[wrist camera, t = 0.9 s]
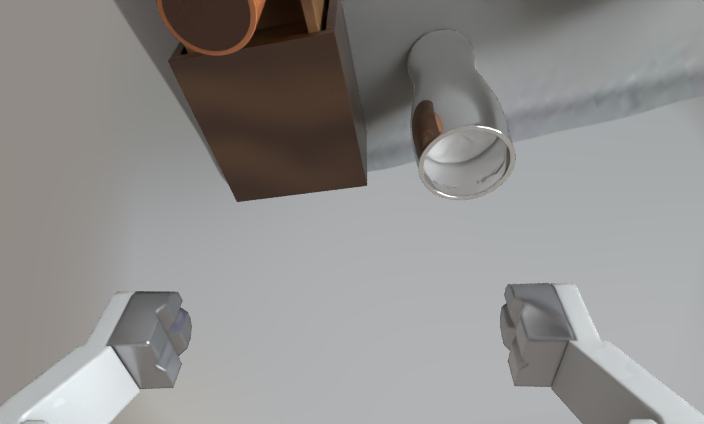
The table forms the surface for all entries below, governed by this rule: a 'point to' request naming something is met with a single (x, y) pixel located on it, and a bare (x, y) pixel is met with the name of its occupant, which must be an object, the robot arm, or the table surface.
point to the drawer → (288, 19)
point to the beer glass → (456, 120)
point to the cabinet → (281, 112)
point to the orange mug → (212, 23)
